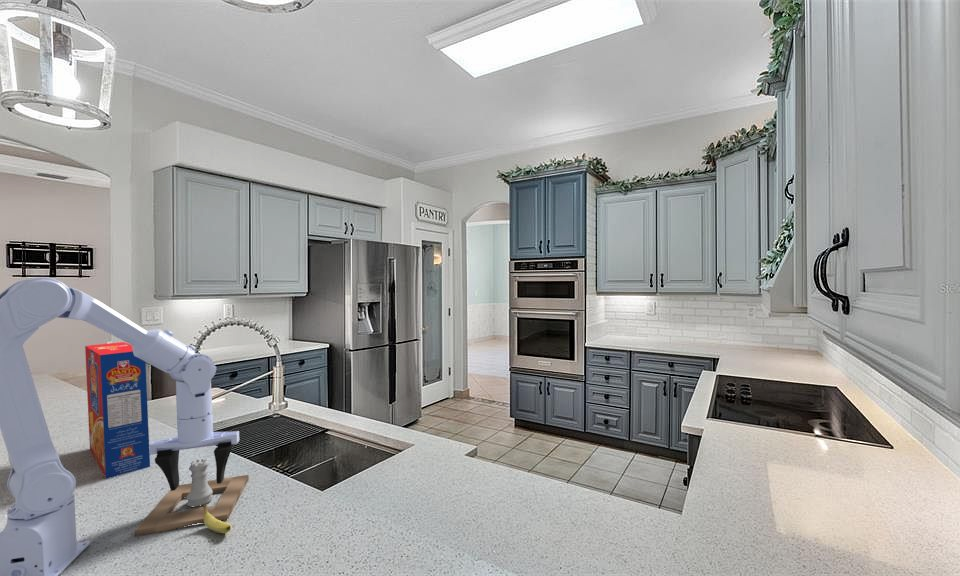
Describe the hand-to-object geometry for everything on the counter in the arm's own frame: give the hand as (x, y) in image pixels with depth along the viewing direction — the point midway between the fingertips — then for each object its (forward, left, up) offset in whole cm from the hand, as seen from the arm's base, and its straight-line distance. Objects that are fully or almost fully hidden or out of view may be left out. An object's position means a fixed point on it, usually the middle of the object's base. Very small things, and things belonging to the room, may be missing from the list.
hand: (197, 484), depth 83 cm
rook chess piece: (+1, 0, -4) cm, 4 cm away
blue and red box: (+35, +28, -4) cm, 45 cm away
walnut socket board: (0, 0, -4) cm, 4 cm away
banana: (-12, -6, -4) cm, 14 cm away
